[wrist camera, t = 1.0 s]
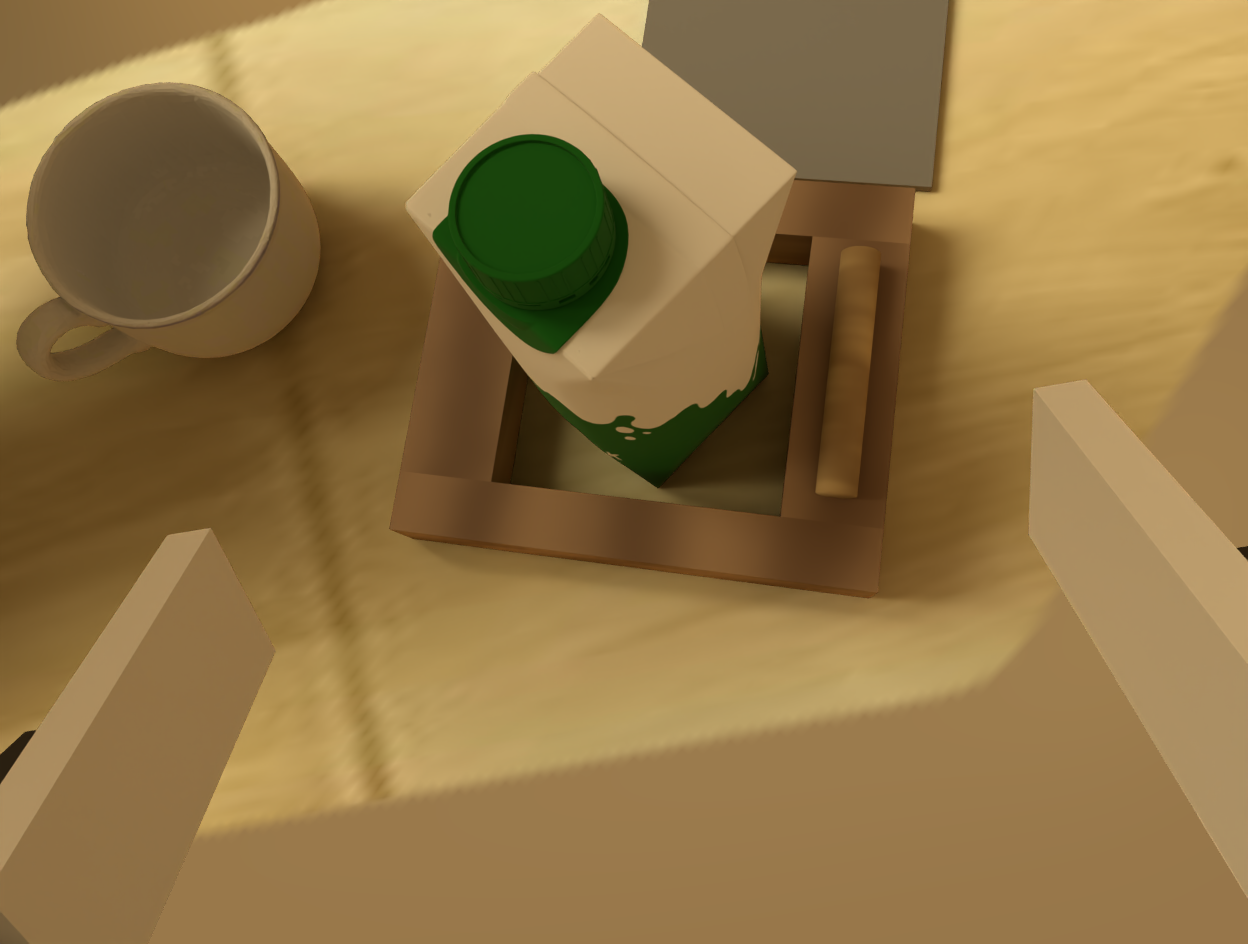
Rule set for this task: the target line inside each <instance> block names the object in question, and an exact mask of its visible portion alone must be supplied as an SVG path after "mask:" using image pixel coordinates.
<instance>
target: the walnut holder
mask: <svg viewBox="0 0 1248 944" xmlns="http://www.w3.org/2000/svg"><path fill="white" fill-rule="evenodd" d="M915 189H916V188H905V187H890V186H875V185H860V184H845V183H830V182H815V181H801V180H794V181H793V184H792V187H791V189H790V192H789V195H788V198H787V201H786V204H785V207H784V210H783V213H782V216H781V219H780V222H779V225H778V227H777V230H776V233H775V236H774V239H773V242H772V246H771V249H770V252H769V255H768V258H767V261H766V262H772V263H785V264H797V265H808V274H807V283H806V292H805V301H804V309H803V318H802V327H801V336H800V345H799V353H798V362H797V371H796V380H795V389H794V397H793V406H792V415H791V424H790V433H789V442H788V450H787V459H786V468H785V477H784V486H783V494H782V503H781V512H780V516H771V515H763V514H755V513H746V512H738V511H730V510H721V509H713V508H705V507H696V506H688V505H680V504H671V503H663V502H655V501H646V500H638V499H630V498H621V497H613V496H605V495H596V494H588V493H580V492H571V491H563V490H554V489H546V488H538V487H529V486H521V485H513V484H510V483H511V477H512V471H513V465H514V459H515V453H516V446H517V440H518V434H519V428H520V422H521V416H522V410H523V404H524V398H525V392H526V386H527V380H528V375H527V373H526V372H525V371H524V370H523V368H522V367H521V366H520V364H519V363H518V362H517V360H516V359H515V358H514V356H513V355H512V354H511V352H510V351H509V350H508V348H507V347H506V346H505V344H504V343H503V342H502V340H501V339H500V338H499V336H498V335H497V334H496V332H495V331H494V329H493V328H492V327H491V325H490V324H489V323H488V321H487V320H486V319H485V317H484V316H483V314H482V313H481V312H480V310H479V309H478V308H477V306H476V305H475V303H474V302H473V301H472V299H471V298H470V296H469V295H468V294H467V292H466V291H465V290H464V288H463V287H462V286H461V284H460V283H459V281H458V280H457V279H456V277H455V276H454V275H453V273H452V272H451V270H450V269H449V268H448V266H447V265H446V264H445V262H444V261H443V259H442V258H441V257H440V261H439V266H438V272H437V277H436V282H435V288H434V293H433V298H432V304H431V309H430V314H429V320H428V325H427V330H426V336H425V341H424V346H423V352H422V357H421V362H420V368H419V373H418V378H417V384H416V389H415V394H414V400H413V405H412V410H411V416H410V421H409V426H408V432H407V437H406V442H405V448H404V453H403V458H402V464H401V469H400V474H399V480H398V485H397V490H396V496H395V501H394V506H393V512H392V517H391V522H390V528H389V529H390V530H393V531H395V532H398V533H400V534H403V535H405V536H408V537H410V538H413V539H420V540H427V541H435V542H443V543H450V544H458V545H466V546H473V547H481V548H489V549H496V550H504V551H512V552H519V553H527V554H534V555H542V556H550V557H557V558H565V559H573V560H580V561H588V562H596V563H603V564H611V565H619V566H626V567H634V568H642V569H649V570H657V571H665V572H672V573H680V574H687V575H695V576H703V577H710V578H718V579H726V580H733V581H741V582H749V583H756V584H764V585H772V586H779V587H787V588H795V589H802V590H810V591H817V592H825V593H833V594H840V595H848V596H856V597H863V598H870V597H871V596H873V595H875V594H876V593H878V585H879V574H880V563H881V553H882V542H883V531H884V521H885V510H886V499H887V488H888V478H889V467H890V456H891V446H892V435H893V424H894V414H895V403H896V392H897V381H898V371H899V360H900V349H901V339H902V328H903V317H904V306H905V296H906V285H907V274H908V264H909V253H910V242H911V232H912V221H913V210H914V199H915Z"/></svg>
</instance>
